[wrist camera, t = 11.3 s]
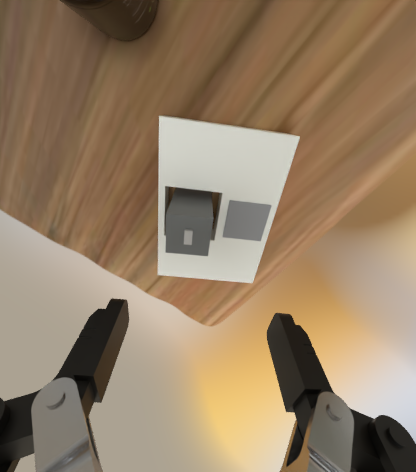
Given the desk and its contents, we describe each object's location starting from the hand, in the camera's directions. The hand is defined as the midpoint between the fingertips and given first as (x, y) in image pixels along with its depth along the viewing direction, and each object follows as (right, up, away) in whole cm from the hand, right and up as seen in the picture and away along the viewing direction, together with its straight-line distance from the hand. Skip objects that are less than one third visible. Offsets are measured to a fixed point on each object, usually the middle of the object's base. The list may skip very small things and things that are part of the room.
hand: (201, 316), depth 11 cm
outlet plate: (+1, +8, +17) cm, 19 cm away
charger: (-2, +8, +16) cm, 19 cm away
